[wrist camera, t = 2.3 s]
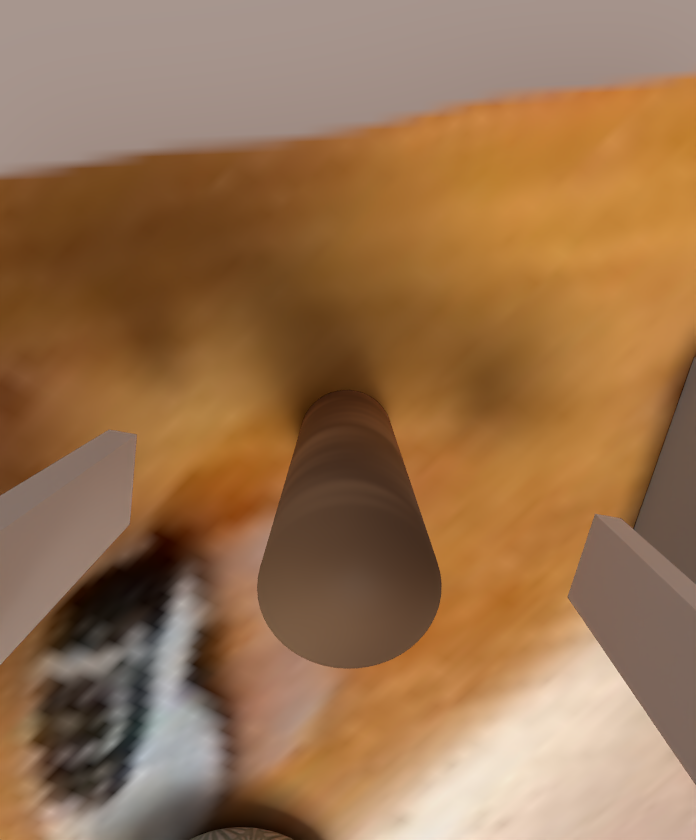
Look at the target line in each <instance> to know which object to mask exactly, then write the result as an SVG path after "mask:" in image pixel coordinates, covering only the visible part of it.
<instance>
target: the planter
mask: <svg viewBox="0 0 696 840" xmlns="http://www.w3.org/2000/svg"><path fill="white" fill-rule="evenodd" d="M190 840H293V839H291V838H289V837H287V836H285V835H282V834H279V833H276V832H273V831H269V830H265V829H259V828H250V827H233V828H224V829H218V830H214V831H210V832H207V833H204V834H202V835H199V836H197V837H194V838H192V839H190Z"/></svg>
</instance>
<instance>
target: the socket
mask: <svg viewBox="0 0 696 840" xmlns="http://www.w3.org/2000/svg"><path fill="white" fill-rule="evenodd" d="M634 530H635V531H636V532H637V533H638V534H639V535H640V536H641V537H643V538H644V539H645V540H646V541H647V542H648V543H649V544H651V545H652V546H653V547H654V548H655V549H656V550H657V551H658V552H660V553H661V554H662V555H663V556H664V557H665V558H666V559H668V560H669V561H670V562H671V563H672V564H673V565H674V566H675V567H677V568H678V569H679V570H680V571H681V572H682V573H683V574H685V575H686V576H687V577H688V578H689V579H690V580H691V581H693V582H694V583H695V584H696V357H694V360H693V363H692V365H691V368H690V371H689V374H688V377H687V380H686V382H685V385H684V388H683V391H682V394H681V397H680V399H679V402H678V405H677V408H676V411H675V414H674V416H673V419H672V422H671V425H670V428H669V431H668V433H667V436H666V439H665V442H664V445H663V448H662V450H661V453H660V456H659V459H658V462H657V465H656V467H655V470H654V473H653V476H652V479H651V482H650V484H649V487H648V490H647V493H646V496H645V499H644V501H643V504H642V507H641V510H640V513H639V516H638V518H637V521H636V524H635V527H634Z"/></svg>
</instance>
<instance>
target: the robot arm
mask: <svg viewBox="0 0 696 840" xmlns="http://www.w3.org/2000/svg"><path fill="white" fill-rule="evenodd" d="M136 438H137V434H131V433H125V432H120V431H114V430H108V431H106V432H104V433H103V434H101V435H99V436H98V437H96V438H95V439H93V440H91V441H90V442H88V443H86V444H85V445H83V446H81V447H80V448H78V449H76V450H75V451H73V452H71V453H70V454H68V455H67V456H65V457H63V458H62V459H60V460H58V461H57V462H55V463H53V464H52V465H50V466H48V467H47V468H45V469H43V470H42V471H40V472H39V473H37V474H35V475H34V476H32V477H30V478H29V479H27V480H25V481H24V482H22V483H20V484H19V485H17V486H15V487H14V488H12V489H11V490H9V491H7V492H6V493H4V494H2V495H1V496H0V665H1V664H2V663H3V661H4V660H5V659H6V658H7V657H8V656H9V655H10V654H11V653H12V652H13V651H14V649H15V648H16V647H17V646H18V645H19V644H20V643H21V642H22V641H23V640H24V639H25V637H26V636H27V635H28V634H29V633H30V632H31V631H32V630H33V629H34V628H35V627H36V626H37V624H38V623H39V622H40V621H41V620H42V619H43V618H44V617H45V616H46V615H47V614H48V612H49V611H50V610H51V609H52V608H53V607H54V606H55V605H56V604H57V603H58V602H59V601H60V599H61V598H62V597H63V596H64V595H65V594H66V593H67V592H68V591H69V590H70V589H71V587H72V586H73V585H74V584H75V583H76V582H77V581H78V580H79V579H80V578H81V577H82V575H83V574H84V573H85V572H86V571H87V570H88V569H89V568H90V567H91V566H92V565H93V564H94V562H95V561H96V560H97V559H98V558H99V557H100V556H101V555H102V554H103V553H104V552H105V550H106V549H107V548H108V547H109V546H110V545H111V544H112V543H113V542H114V541H115V540H116V539H117V537H118V536H119V535H120V534H121V533H122V532H123V531H124V530H125V529H126V528H127V527H128V525H129V524H130V515H131V502H132V489H133V477H134V464H135V451H136ZM568 598H569V600H570V601H571V603H572V604H573V606H574V607H575V609H576V610H577V612H578V613H579V615H580V616H581V618H582V619H583V620H584V622H585V623H586V625H587V626H588V628H589V629H590V631H591V632H592V634H593V635H594V637H595V638H596V640H597V641H598V642H599V644H600V645H601V647H602V648H603V650H604V651H605V653H606V654H607V656H608V657H609V659H610V660H611V662H612V663H613V664H614V666H615V667H616V669H617V670H618V672H619V673H620V675H621V676H622V678H623V679H624V681H625V682H626V684H627V685H628V686H629V688H630V689H631V691H632V692H633V694H634V695H635V697H636V698H637V700H638V701H639V703H640V704H641V706H642V707H643V708H644V710H645V711H646V713H647V714H648V716H649V717H650V719H651V720H652V722H653V723H654V725H655V726H656V728H657V729H658V730H659V732H660V733H661V735H662V736H663V738H664V739H665V741H666V742H667V744H668V745H669V747H670V748H671V749H672V751H673V752H674V754H675V755H676V757H677V758H678V760H679V761H680V763H681V764H682V766H683V767H684V769H685V770H686V771H687V773H688V774H689V776H690V777H691V779H692V780H693V782H694V783H695V785H696V584H695V583H694V582H693V581H691V580H690V579H689V578H688V577H687V576H686V575H685V574H683V573H682V572H681V571H680V570H679V569H678V568H677V567H675V566H674V565H673V564H672V563H671V562H670V561H669V560H668V559H666V558H665V557H664V556H663V555H662V554H661V553H660V552H658V551H657V550H656V549H655V548H654V547H653V546H652V545H651V544H649V543H648V542H647V541H646V540H645V539H644V538H643V537H641V536H640V535H639V534H638V533H637V532H636V531H635V530H634V529H632V528H631V527H630V526H629V525H628V524H627V523H626V522H624V521H623V520H622V519H621V518H615V517H610V516H604V515H598V514H595V516H594V519H593V522H592V525H591V528H590V531H589V534H588V537H587V540H586V543H585V546H584V549H583V552H582V555H581V558H580V561H579V564H578V567H577V570H576V573H575V576H574V579H573V582H572V585H571V588H570V591H569V594H568Z"/></svg>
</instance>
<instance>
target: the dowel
mask: <svg viewBox="0 0 696 840" xmlns="http://www.w3.org/2000/svg"><path fill="white" fill-rule="evenodd" d="M257 591H258V600H259V605H260V609H261V612H262V614H263V617H264V619H265V621H266V623H267V625H268V626H269V628H270V629H271V631H272V632H273V634H274V635H275V636H276V637H277V638H278V639H279V640H280V641H281V642H282V643H283V644H284V645H285V646H286V647H287V648H289V649H290V650H291V651H293V652H294V653H296V654H297V655H299V656H301V657H303V658H305V659H307V660H309V661H311V662H314V663H317V664H320V665H324V666H329V667H334V668H362V667H369V666H373V665H377V664H381V663H383V662H386V661H389V660H391V659H393V658H395V657H397V656H399V655H401V654H402V653H404V652H405V651H407V650H408V649H409V648H411V647H412V646H413V645H414V644H415V643H416V642H418V640H419V639H420V638H421V637H422V636H423V635H424V634H425V632H426V631H427V630H428V628H429V627H430V625H431V623H432V621H433V619H434V617H435V615H436V613H437V610H438V607H439V603H440V598H441V576H440V571H439V567H438V563H437V560H436V557H435V554H434V551H433V548H432V545H431V542H430V539H429V536H428V533H427V530H426V527H425V524H424V521H423V518H422V515H421V512H420V509H419V507H418V504H417V501H416V498H415V495H414V492H413V489H412V486H411V483H410V480H409V477H408V474H407V471H406V468H405V465H404V462H403V459H402V456H401V453H400V450H399V447H398V444H397V441H396V438H395V435H394V432H393V429H392V426H391V423H390V420H389V418H388V415H387V413H386V412H385V410H384V409H383V407H382V406H381V405H380V404H379V403H378V402H377V401H376V400H375V399H373V398H372V397H370V396H368V395H366V394H364V393H361V392H358V391H352V390H340V391H335V392H332V393H329V394H327V395H325V396H323V397H321V398H320V399H318V400H317V401H316V402H315V403H314V404H313V405H312V406H311V407H310V408H309V410H308V411H307V413H306V415H305V417H304V420H303V423H302V426H301V430H300V433H299V436H298V440H297V443H296V447H295V450H294V453H293V457H292V460H291V464H290V467H289V471H288V474H287V477H286V481H285V484H284V488H283V491H282V495H281V498H280V501H279V505H278V508H277V512H276V515H275V518H274V522H273V525H272V529H271V532H270V536H269V539H268V542H267V546H266V549H265V553H264V556H263V560H262V563H261V566H260V571H259V575H258V584H257Z"/></svg>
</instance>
